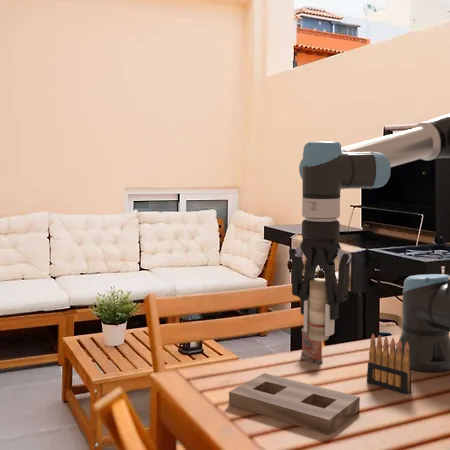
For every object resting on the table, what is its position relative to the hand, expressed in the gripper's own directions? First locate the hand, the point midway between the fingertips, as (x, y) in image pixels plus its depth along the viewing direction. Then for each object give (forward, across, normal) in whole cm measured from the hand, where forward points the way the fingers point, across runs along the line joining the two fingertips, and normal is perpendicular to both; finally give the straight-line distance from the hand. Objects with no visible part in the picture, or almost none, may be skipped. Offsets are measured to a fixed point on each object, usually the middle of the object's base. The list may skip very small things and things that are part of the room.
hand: (318, 332), depth 124 cm
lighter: (+18, -18, +30) cm, 39 cm away
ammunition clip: (+18, +6, +23) cm, 30 cm away
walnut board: (+18, -6, 0) cm, 19 cm away
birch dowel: (+1, 0, 0) cm, 1 cm away
